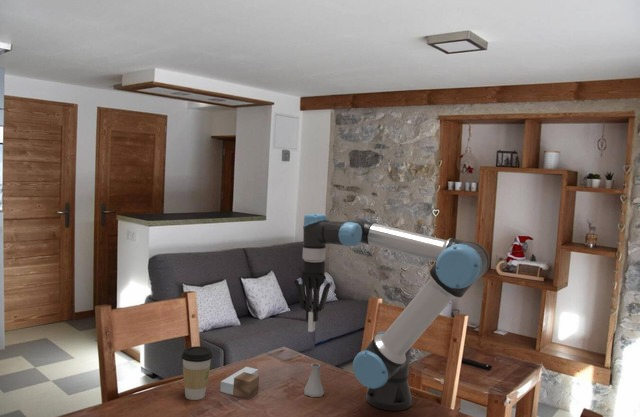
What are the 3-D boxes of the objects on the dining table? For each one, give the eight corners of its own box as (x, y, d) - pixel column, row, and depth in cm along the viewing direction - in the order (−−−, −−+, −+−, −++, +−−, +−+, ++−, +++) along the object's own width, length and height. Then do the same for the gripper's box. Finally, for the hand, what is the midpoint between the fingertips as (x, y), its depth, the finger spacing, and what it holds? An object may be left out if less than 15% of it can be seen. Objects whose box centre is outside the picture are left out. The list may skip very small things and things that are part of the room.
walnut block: (258, 393, 180) (259, 375, 180) (248, 399, 175) (249, 381, 174) (242, 389, 183) (243, 372, 182) (233, 395, 177) (234, 377, 177)
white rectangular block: (257, 379, 192) (258, 369, 192) (233, 395, 177) (233, 384, 177) (245, 376, 194) (246, 366, 194) (220, 391, 179) (220, 381, 179)
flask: (322, 399, 179) (324, 370, 178) (301, 396, 180) (303, 367, 179) (326, 390, 186) (328, 362, 185) (305, 387, 187) (307, 359, 187)
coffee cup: (216, 394, 177) (219, 349, 176) (197, 405, 168) (200, 358, 167) (192, 387, 181) (194, 343, 180) (173, 397, 172) (175, 351, 171)
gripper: (336, 260, 179) (333, 330, 180) (299, 257, 183) (297, 325, 185) (328, 263, 172) (326, 336, 173) (291, 260, 176) (289, 331, 178)
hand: (311, 330), depth 179 cm, fingers closed
